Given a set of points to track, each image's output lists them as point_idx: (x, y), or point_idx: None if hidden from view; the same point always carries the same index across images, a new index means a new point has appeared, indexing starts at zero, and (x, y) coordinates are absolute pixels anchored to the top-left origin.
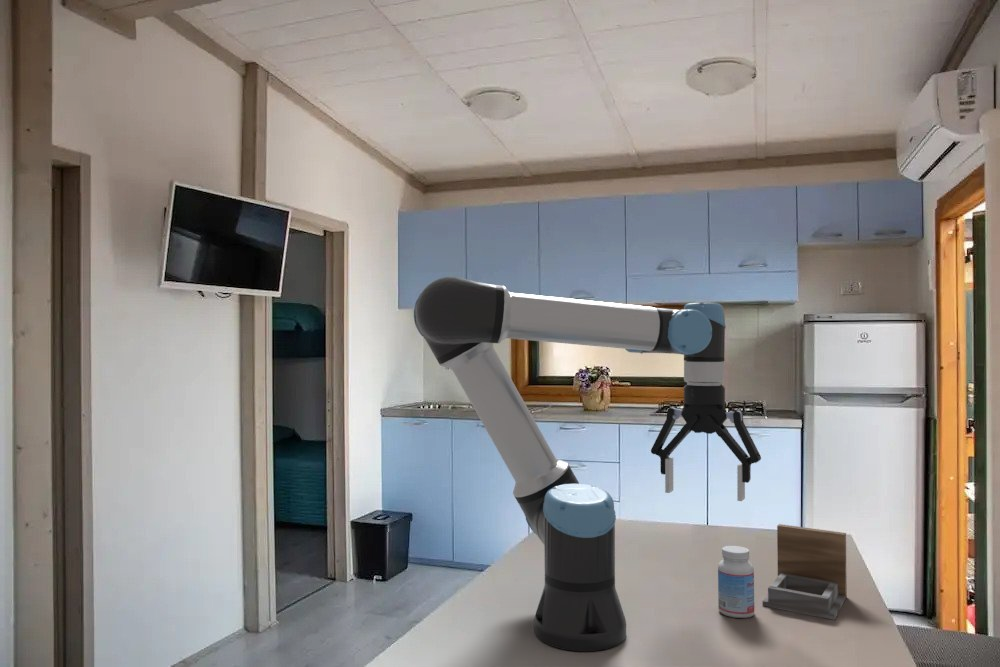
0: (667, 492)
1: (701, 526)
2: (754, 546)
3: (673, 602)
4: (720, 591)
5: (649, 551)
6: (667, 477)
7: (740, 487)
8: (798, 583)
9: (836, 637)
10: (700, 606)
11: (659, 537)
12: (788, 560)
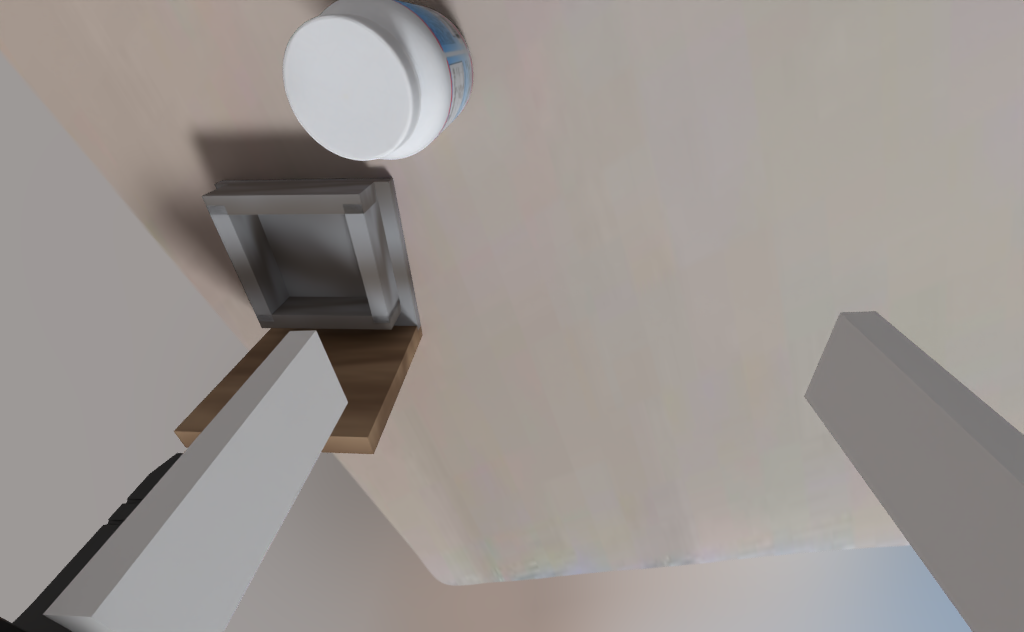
0: (856, 314)
1: (676, 559)
2: (550, 505)
3: (619, 37)
4: (438, 20)
5: (767, 404)
6: (963, 407)
7: (240, 400)
8: (348, 307)
9: (142, 48)
10: (531, 57)
11: (755, 487)
12: (372, 364)
